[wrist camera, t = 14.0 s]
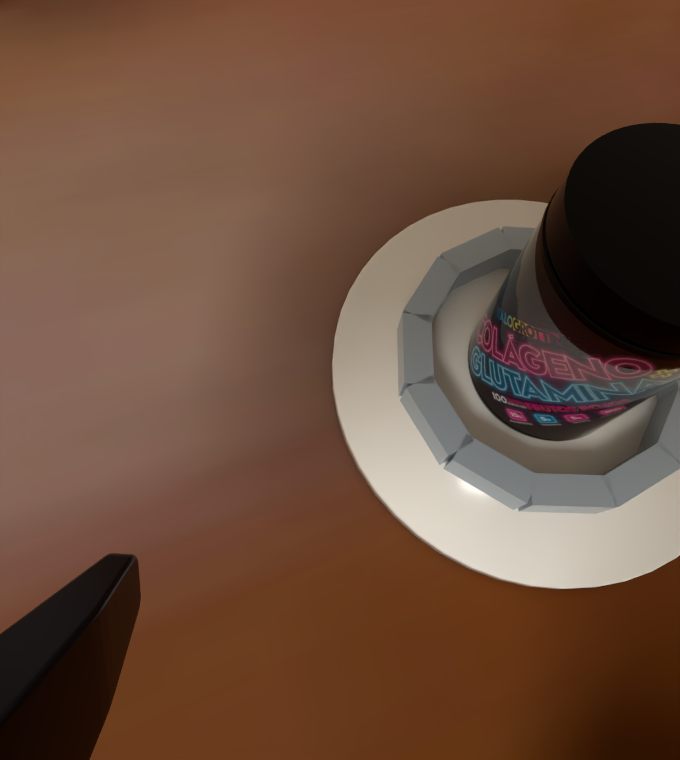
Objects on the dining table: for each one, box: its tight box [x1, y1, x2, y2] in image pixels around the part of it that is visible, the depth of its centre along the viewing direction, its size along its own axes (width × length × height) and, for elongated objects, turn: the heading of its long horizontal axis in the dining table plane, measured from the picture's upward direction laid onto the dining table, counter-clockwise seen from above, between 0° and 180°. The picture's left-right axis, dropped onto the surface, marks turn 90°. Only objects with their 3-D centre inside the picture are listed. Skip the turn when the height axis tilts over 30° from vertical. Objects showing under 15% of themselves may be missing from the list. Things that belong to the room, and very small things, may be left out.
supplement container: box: [467, 123, 680, 442], centre depth 20 cm, size 7×7×10 cm
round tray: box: [332, 200, 680, 589], centre depth 24 cm, size 18×18×2 cm
